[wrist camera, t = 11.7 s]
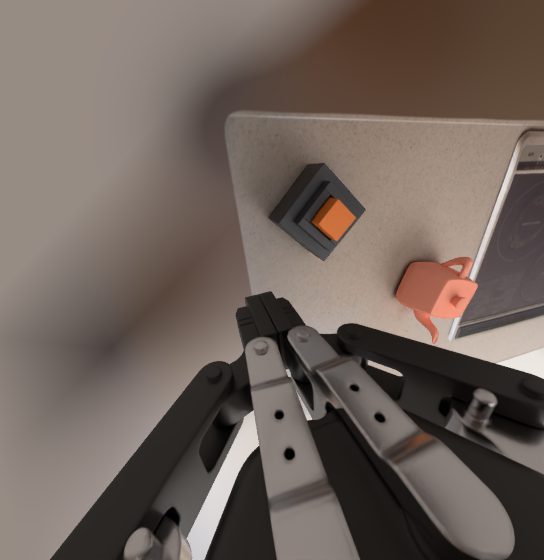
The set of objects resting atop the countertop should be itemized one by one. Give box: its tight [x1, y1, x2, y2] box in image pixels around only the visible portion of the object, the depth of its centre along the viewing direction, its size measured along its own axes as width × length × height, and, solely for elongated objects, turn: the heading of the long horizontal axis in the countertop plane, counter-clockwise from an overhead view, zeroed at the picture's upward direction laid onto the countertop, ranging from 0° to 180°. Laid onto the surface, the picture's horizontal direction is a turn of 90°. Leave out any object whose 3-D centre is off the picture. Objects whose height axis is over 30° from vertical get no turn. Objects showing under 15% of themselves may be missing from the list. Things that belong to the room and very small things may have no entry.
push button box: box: [269, 163, 366, 261], centre depth 36 cm, size 10×10×7 cm
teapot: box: [396, 257, 478, 344], centre depth 48 cm, size 12×18×10 cm, turn 166°
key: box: [311, 197, 356, 241], centre depth 32 cm, size 4×4×2 cm
